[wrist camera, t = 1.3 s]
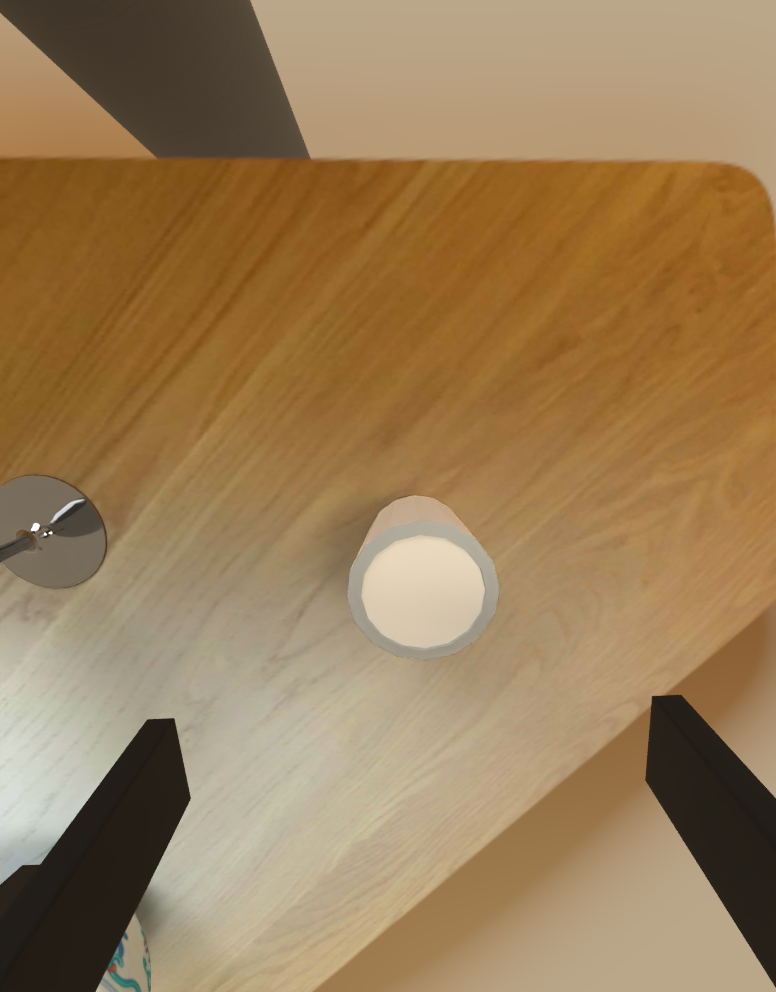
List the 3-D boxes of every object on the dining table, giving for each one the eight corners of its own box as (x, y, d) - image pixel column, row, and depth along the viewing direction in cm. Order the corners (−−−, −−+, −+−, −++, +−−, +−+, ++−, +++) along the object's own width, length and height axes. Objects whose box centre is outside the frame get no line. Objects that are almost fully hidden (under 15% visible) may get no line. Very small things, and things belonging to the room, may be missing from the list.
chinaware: (140, 996, 37) (76, 1151, 30) (-36, 919, 35) (-151, 1063, 28) (226, 879, 34) (179, 1020, 27) (38, 787, 32) (-70, 911, 25)
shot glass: (379, 468, 26) (374, 500, 19) (491, 506, 27) (524, 549, 20) (343, 574, 28) (327, 636, 21) (449, 607, 28) (467, 679, 22)
